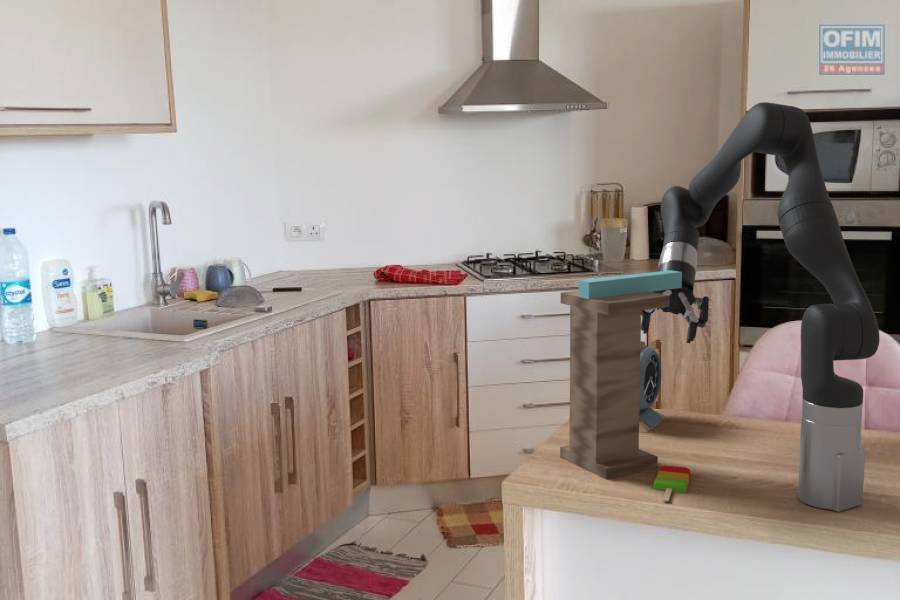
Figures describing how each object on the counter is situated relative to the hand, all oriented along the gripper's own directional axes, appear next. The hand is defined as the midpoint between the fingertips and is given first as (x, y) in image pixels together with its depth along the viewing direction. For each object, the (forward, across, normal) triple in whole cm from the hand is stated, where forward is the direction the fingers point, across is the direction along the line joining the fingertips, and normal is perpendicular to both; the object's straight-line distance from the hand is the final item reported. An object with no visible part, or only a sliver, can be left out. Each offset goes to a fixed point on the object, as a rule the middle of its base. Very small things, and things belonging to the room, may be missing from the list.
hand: (667, 336), depth 183 cm
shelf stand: (+25, -6, +7) cm, 27 cm away
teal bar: (0, -10, -13) cm, 16 cm away
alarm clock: (+8, -1, +25) cm, 26 cm away
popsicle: (+33, +4, -4) cm, 33 cm away
